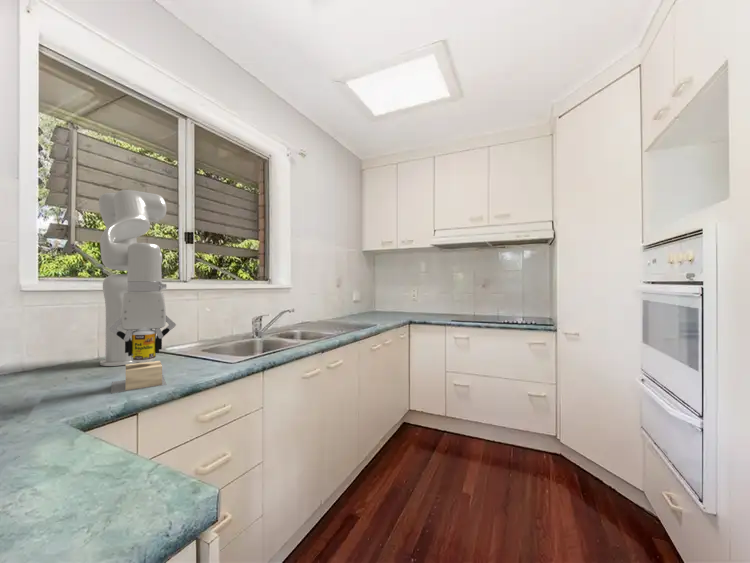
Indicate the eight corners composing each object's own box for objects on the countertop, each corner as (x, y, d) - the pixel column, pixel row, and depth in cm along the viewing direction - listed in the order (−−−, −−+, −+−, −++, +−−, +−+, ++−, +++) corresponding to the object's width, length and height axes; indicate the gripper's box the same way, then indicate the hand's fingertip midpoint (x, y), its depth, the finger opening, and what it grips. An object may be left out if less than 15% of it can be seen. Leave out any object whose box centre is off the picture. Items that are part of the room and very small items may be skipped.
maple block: (125, 382, 93) (125, 364, 93) (159, 377, 98) (159, 360, 98) (125, 390, 87) (125, 370, 87) (162, 384, 92) (162, 366, 92)
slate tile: (112, 385, 94) (112, 381, 94) (162, 378, 101) (162, 374, 101) (110, 397, 84) (110, 393, 84) (166, 388, 91) (166, 384, 91)
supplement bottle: (130, 364, 89) (131, 325, 89) (131, 359, 93) (132, 322, 93) (155, 361, 92) (156, 323, 92) (155, 357, 96) (156, 321, 96)
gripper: (178, 287, 101) (178, 348, 101) (105, 288, 90) (104, 355, 90) (181, 288, 95) (181, 352, 95) (103, 288, 84) (102, 360, 84)
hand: (143, 353), depth 93 cm, fingers closed on supplement bottle, 5 cm apart
